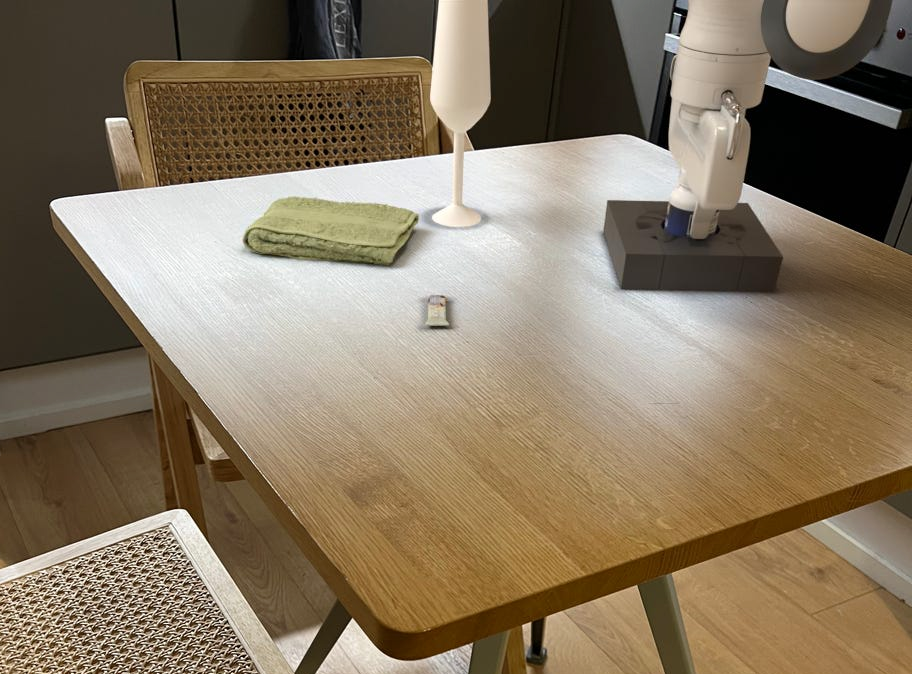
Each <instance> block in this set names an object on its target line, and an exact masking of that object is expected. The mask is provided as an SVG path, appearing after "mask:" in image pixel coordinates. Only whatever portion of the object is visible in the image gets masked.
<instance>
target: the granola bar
mask: <svg viewBox="0 0 912 674" xmlns="http://www.w3.org/2000/svg"><path fill="white" fill-rule="evenodd" d="M449 298H450V297H447V296H445V295H441V294H430V295H428V296H427V297H426V300H427V301H428V302H427V321H426V322H425V323H424V326H429V327H433V326H435V327H436V326H437V327H445V326H450V322H448V321H447V307H446V306H447V305H446V304H447V303H446V302H447V301H448V300H449Z"/></svg>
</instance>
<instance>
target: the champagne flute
mask: <svg viewBox="0 0 912 674" xmlns="http://www.w3.org/2000/svg"><path fill="white" fill-rule="evenodd" d="M436 17H437V18H436V28H435V29H436V30H435V38H434V50H433V59H432V60H433V62H432V69H431V71H432V72H431V83H430V92H429V93H430V94H429V99H430V101H429V102H430V104H431V107H432V109H433V111H434V112H435V114H436V115H437V117H438V118H439V119H440V121H442V123H443V124H444V125H445V126H446V128H448V129H449V130H450V131H452V132H453V163H452V192H451V193H452V194H451V196H452V197H451V199H452V201H451V203H450V204H448V205H447V206H445V207H444V208H441V209H440V210H439V211H437V212H435V213H434V214H433V215H432V217H431V218H432V221H433V222H435V223H437V224H438V225H442V226H445V227H453V228H465V227H470V226H474V225H477V224H479V223H480V222H481V221H482V217H481V216H480V215H479V214H478V213H477V212H476V211H474V210H472V209H471V208H469V207H468V206H466V205H465V204H463V187H464V161H465V160H464V158H465V133H466V132H468V131H469V130H470V129H472V128H473V126H475V125H476V123H478V122H479V121H480V120H481V119H482V118H483V116H484V115H485V113H486V112H487V111H488V108H489V106H490V104H491V99H492V98H491V94H492V93H491V66H490V65H491V64H490V35H489V34H490V33H489V30H490V29H489V3H488V0H438V7H437V16H436Z"/></svg>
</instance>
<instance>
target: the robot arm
mask: <svg viewBox="0 0 912 674" xmlns="http://www.w3.org/2000/svg"><path fill="white" fill-rule="evenodd" d="M687 1H688V8H687V15H686V19H685V23H684V25H683V27H682V29H681V32H680V35H679V39H678V45H677V51H676V54H675V55H674V56H673V58H672V61H671V65H670V73H669V77H670V80H671V88H670V97H671V105H670V114H669V123H668V126H669V127H668V150H669V152H670V154H671V156H672V157H673V159H674V161H675V163H676V165H677V166H678V168H679V172H678V173H679V175H678V187H679V186H681V184H680V182H679V181H680V174H681V169H682V167H683V168H684V170H685V172H686V181H687V183H688V185H689V186H690V188H691V190H692V192H693V194H694V196H695V197H696V198H695V204H696V206H695V210H694V213H693V216H691V218H690V225H689V229H688V231H689V233H690V236H691V237H692V238H693V239H704V238H706V237H707V236H708V232H709V227H710V222H711V221H712V219H713V217H714V214H715V212H716V210H732V209H734V208H735V207H736V206H737V204H738V203H740V202H739V201H740V200H741V196H742V192H743V186H744V181H745V176H746V169H747V163H748V159H749V158H748V157H749V153H750V144H751V126H750V123H749V122H748V120H747V119H746V118H745V117H746V111H747V109H752V108H754V107H756V106H757V107H758V106H759V105H760V104H761V103H762V99H763V95H764V90H765V85H766V82H767V81H766V80H767V76H768V72H769V67H770V63H771V59H772V61H773V62H774V63H775V65H777V66H778V67H779V68H780V69H782V71H784V72H785V73H787V74H789V75H791V76H794V77H796V78H799V79H803V80H812V81H813V80H814V81H815V80H816V81H817V80H827V79H830V78H833V77H836V76H839V75H841V74H843V73H845V72H848V71H849V70H851V69H852V68H854V67H855V66H856V65H858V64H859V63H861V61H862V60H864V59H865V58H866V57H867V55H869V53H870V52H871V51H872V50H873V49H874V47H875V46H876V45H877V43H878V42H879V40H880V38H881V36H882V34H883V33H884V30H885V28H886V25H887V23H888V21H889V17H890V13H891V11H892V10H891V9H892V4H893V1H894V0H687Z"/></svg>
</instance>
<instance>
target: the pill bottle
mask: <svg viewBox="0 0 912 674" xmlns="http://www.w3.org/2000/svg"><path fill="white" fill-rule="evenodd" d="M679 182H680V184H681V186H679V185H678V186H677V187H675V188H674V189H673V190H672V191H671V193H670V195H669V198H668V199H669V200H668V201H669V204H668V210H667V216H666V221H665V227H664V230H665V231H667V232H669V233H672V234H675V235H678V236H683V237H689V238H692V237H691V236H690V233H689V231H688V229H689V225H690V218H691V216H693V213H694V210H695V206H696V204H695V198H696V197H695V196H694V194H693V192H692V190H691V188H690V186H689V185H688V183H687V181H686V172H685V170H684V168H683V167H682V169H681V174H680V181H679V180H678V183H679ZM719 212H720V210H716V212H715V214H714V217H713V219H712V221H711V222H710V227H709V232H708V236H707V237H710V236H714V235H715V231H716V226H717V221H718V217H719Z"/></svg>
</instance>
